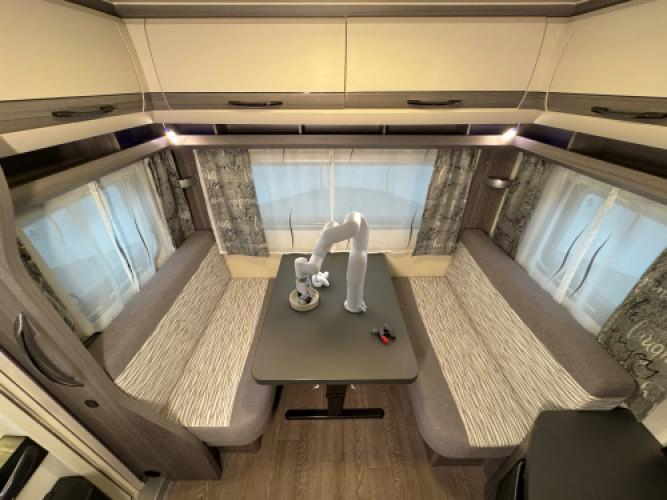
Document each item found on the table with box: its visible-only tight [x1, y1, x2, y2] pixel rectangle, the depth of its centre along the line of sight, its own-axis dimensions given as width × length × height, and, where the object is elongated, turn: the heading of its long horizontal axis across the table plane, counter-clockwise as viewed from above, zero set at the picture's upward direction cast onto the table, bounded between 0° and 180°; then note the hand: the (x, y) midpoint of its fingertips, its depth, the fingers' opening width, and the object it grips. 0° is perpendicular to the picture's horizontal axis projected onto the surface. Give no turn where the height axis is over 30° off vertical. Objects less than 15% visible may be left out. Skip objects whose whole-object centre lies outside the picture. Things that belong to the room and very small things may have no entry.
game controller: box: [297, 294, 313, 306], centre depth 161 cm, size 10×5×6 cm
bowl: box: [289, 287, 320, 312], centre depth 161 cm, size 18×18×4 cm
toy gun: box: [371, 323, 396, 345], centre depth 135 cm, size 10×12×5 cm
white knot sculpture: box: [311, 271, 330, 288], centre depth 175 cm, size 11×12×9 cm
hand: (304, 300), depth 161 cm, fingers closed on game controller, 7 cm apart
